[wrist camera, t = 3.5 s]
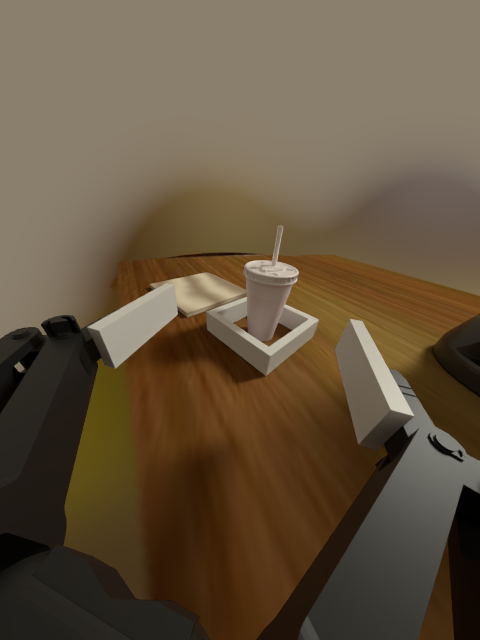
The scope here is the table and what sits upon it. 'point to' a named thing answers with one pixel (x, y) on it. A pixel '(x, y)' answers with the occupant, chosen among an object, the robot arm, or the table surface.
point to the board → (202, 292)
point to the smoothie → (267, 292)
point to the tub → (253, 348)
